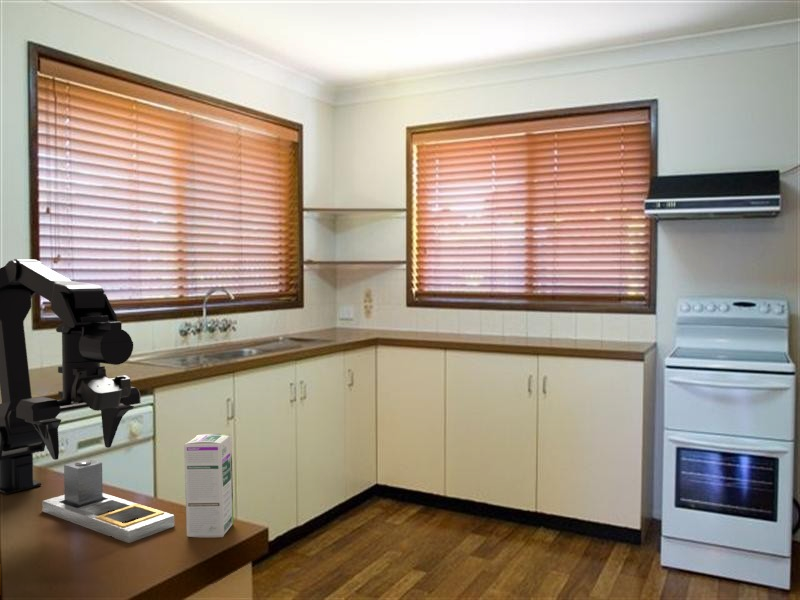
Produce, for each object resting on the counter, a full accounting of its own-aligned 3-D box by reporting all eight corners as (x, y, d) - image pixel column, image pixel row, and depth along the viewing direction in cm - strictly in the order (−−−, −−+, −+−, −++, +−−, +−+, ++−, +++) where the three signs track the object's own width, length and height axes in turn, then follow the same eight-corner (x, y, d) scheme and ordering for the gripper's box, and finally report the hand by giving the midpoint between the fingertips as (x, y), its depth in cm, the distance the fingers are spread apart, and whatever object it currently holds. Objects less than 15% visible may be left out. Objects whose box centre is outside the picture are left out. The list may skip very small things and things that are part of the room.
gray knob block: (64, 512, 110) (64, 463, 110) (88, 505, 114) (87, 458, 114) (78, 517, 108) (78, 467, 108) (102, 509, 112) (102, 461, 111)
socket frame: (42, 511, 111) (42, 499, 111) (87, 498, 117) (87, 487, 117) (128, 543, 97) (128, 529, 97) (174, 526, 104) (174, 513, 104)
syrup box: (223, 537, 99) (222, 442, 99) (184, 537, 100) (183, 442, 99) (234, 523, 105) (233, 433, 105) (197, 523, 105) (196, 433, 105)
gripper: (51, 370, 98) (53, 475, 99) (159, 358, 114) (160, 448, 114) (13, 364, 104) (15, 463, 105) (121, 353, 120) (122, 439, 120)
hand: (82, 453), depth 111 cm, fingers open, 9 cm apart
